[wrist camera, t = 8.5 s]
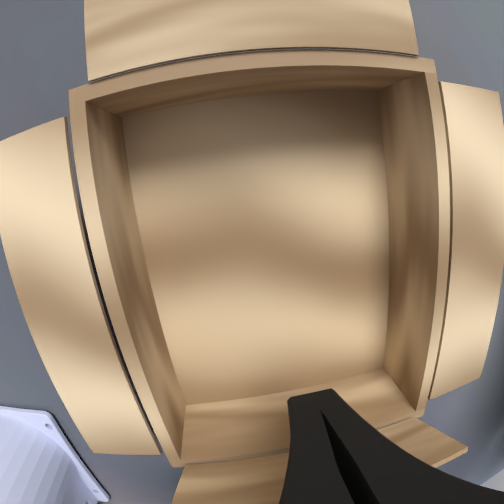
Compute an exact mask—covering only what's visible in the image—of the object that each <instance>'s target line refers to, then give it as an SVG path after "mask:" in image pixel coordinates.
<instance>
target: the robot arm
mask: <svg viewBox="0 0 504 504" xmlns="http://www.w3.org/2000/svg"><path fill="white" fill-rule="evenodd" d="M287 404H288V414H289V424H290V435H291V436H290V449H289V458H288V464H287V470H286V475H285V481H284V485H283V489H282V493H281V497H280V501H279V504H504V492H502V491H498V490H494V489H490V488H486V487H482V486H479V485H476V484H473V483H470V482H468V481H465V480H462V479H460V478H457V477H454V476H452V475H449V474H447V473H445V472H443V471H441V470H439V469H436V468H434V467H432V466H430V465H429V464H427V463H425V462H423V461H421V460H420V459H418V458H416V457H414V456H413V455H411V454H410V453H408V452H406V451H405V450H403V449H402V448H400V447H399V446H398V445H396V444H395V443H393V442H392V441H391V440H389V439H388V438H387V437H385V436H384V435H383V434H381V433H380V432H379V431H378V430H376V429H375V428H374V427H373V426H372V425H370V424H369V423H368V422H367V421H366V420H365V419H363V418H362V417H361V416H360V415H359V414H358V413H357V412H356V411H355V410H354V409H352V408H351V407H350V406H349V405H348V404H347V403H346V402H345V401H344V400H343V399H342V398H341V397H340V396H339V395H338V393H337V392H336V391H335V390H333V389H332V388H329V389H325V390H321V391H316V392H312V393H307V394H302V395H298V396H293V397H290V398H289V399H288V400H287ZM98 501H104V502H107V501H109V496H108V494H107V493H106V492H105V491H104V489H103V488H102V487H101V486H100V484H99V483H98V482H97V481H96V479H95V478H94V477H93V475H92V474H91V473H90V471H89V470H88V469H87V467H86V466H85V465H84V463H83V462H82V461H81V459H80V458H79V456H78V455H77V453H76V452H75V451H74V449H73V448H72V446H71V445H70V443H69V442H68V440H67V439H66V437H65V435H64V434H63V432H62V431H61V429H60V428H59V426H58V424H57V423H56V421H55V419H54V418H53V416H52V415H51V414H50V413H48V412H46V411H40V410H29V409H20V408H12V407H4V406H0V504H97V503H98Z"/></svg>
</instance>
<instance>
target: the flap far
mask: <svg viewBox="0 0 504 504" xmlns="http://www.w3.org/2000/svg"><path fill="white" fill-rule="evenodd" d="M378 431H379V432H380V433H381V434H383V435H384V436H385V437H387V438H388V439H389V440H391V441H392V442H393V443H395V444H396V445H398V446H399V447H400V448H402V449H403V450H405V451H406V452H408V453H410V454H411V455H413V456H414V457H416V458H418V459H420V460H421V461H423V462H425V463H427V464H429V465H430V466H432V467H434V468H436V467H439V466H441V465H443V464H445V463H447V462H449V461H451V460H453V459H455V458H457V457H458V456H460V455H462V454H464V453H466V452H468V447H467V446H465V445H464V444H462V443H460V442H458V441H456V440H454V439H453V438H451V437H449V436H447V435H445V434H444V433H442V432H440V431H438V430H437V429H435V428H433V427H431V426H429V425H428V424H426V423H424V422H422V421H421V420H419V419H417V418H416V417H412V418H409V419H407V420H404V421H401V422H399V423H396V424H393V425H390V426H387V427H384V428H381V429H378ZM288 458H289V452H288V453H283V454H277V455H271V456H265V457H258V458H251V459H244V460H236V461H227V462H216V463H204V464H188V465H185V467H184V469H183V472H182V475H181V478H180V480H179V483H178V486H177V489H176V491H175V494H174V497H173V500H172V502H171V504H279V501H280V497H281V493H282V489H283V485H284V481H285V475H286V470H287V464H288Z"/></svg>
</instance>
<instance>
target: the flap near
mask: <svg viewBox="0 0 504 504" xmlns="http://www.w3.org/2000/svg"><path fill="white" fill-rule="evenodd" d="M84 19H85V43H86V58H87V71H88V81H94V80H98V79H101V78H104V77H108V76H112V75H115V74H119V73H123V72H127V71H130V70H135V69H139V68H143V67H147V66H152V65H157V64H161V63H166V62H171V61H177V60H182V59H188V58H194V57H201V56H208V55H215V54H223V53H232V52H242V51H254V50H269V49H292V48H331V49H355V50H369V51H381V52H390V53H399V54H407V55H414V56H416V55H419V52H418V46H417V40H416V34H415V29H414V23H413V18H412V14H411V9H410V4H409V0H84Z"/></svg>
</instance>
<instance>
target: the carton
mask: <svg viewBox="0 0 504 504" xmlns="http://www.w3.org/2000/svg"><path fill="white" fill-rule="evenodd" d="M69 106H70V119H71V130H72V140H73V149H74V157H75V164H76V171H77V178H78V184H79V191H80V196H81V202H82V207H83V213H84V218H85V223H86V228H87V232H88V237H89V241H90V246H91V250H92V254H93V258H94V262H95V266H96V270H97V274H98V278H99V281H100V285H101V289H102V292H103V296H104V299H105V303H106V306H107V309H108V312H109V316H110V319H111V322H112V325H113V328H114V331H115V334H116V337H117V340H118V343H119V346H120V349H121V352H122V354H123V357H124V360H125V362H126V365H127V368H128V370H129V373H130V376H131V378H132V381H133V383H134V386H135V388H136V391H137V393H138V396H139V398H140V400H141V403H142V405H143V407H144V410H145V412H146V414H147V416H148V419H149V421H150V423H151V425H152V427H153V430H154V432H155V434H156V436H157V438H158V440H159V442H160V444H161V446H162V448H163V450H164V452H165V454H166V456H167V458H168V460H169V462H170V464H171V466H172V467H185V465H188V464H204V463H216V462H227V461H236V460H244V459H251V458H258V457H265V456H271V455H277V454H283V453H288V452H289V449H290V436H291V435H290V424H289V414H288V404H287V400H288V399H289V398H290V397H293V396H298V395H302V394H307V393H312V392H316V391H321V390H325V389H329V388H332V389H333V390H335V391H336V392H337V393H338V395H339V396H340V397H341V398H342V399H343V400H344V401H345V402H346V403H347V404H348V405H349V406H350V407H351V408H352V409H354V410H355V411H356V412H357V413H358V414H359V415H360V416H361V417H362V418H363V419H365V420H366V421H367V422H368V423H369V424H370V425H372V426H373V427H374V428H375V429H376V430H378V429H381V428H384V427H387V426H390V425H393V424H396V423H399V422H401V421H404V420H407V419H409V418H412V417H416V418H418V417H421V416H423V414H424V411H425V407H426V403H427V399H429V400H430V399H433V398H435V397H438V396H440V395H442V394H445V393H447V392H449V391H452V390H454V389H456V388H458V387H461V386H463V385H465V384H467V383H469V382H471V381H473V380H475V379H477V378H479V377H480V376H481V373H482V369H483V366H484V362H485V359H486V355H487V351H488V347H489V343H490V339H491V335H492V330H493V326H494V321H495V316H496V311H497V305H498V299H499V293H500V287H501V280H502V272H503V264H504V127H503V119H502V111H501V105H500V98H499V92H495V91H490V90H486V89H481V88H476V87H471V86H466V85H460V84H454V83H448V82H438V79H437V74H436V69H435V64H434V60H433V59H427V58H420V57H414V56H406V55H398V54H390V53H380V52H368V51H353V50H325V49H300V50H272V51H257V52H244V53H234V54H225V55H217V56H209V57H202V58H196V59H190V60H184V61H178V62H173V63H167V64H162V65H158V66H153V67H148V68H144V69H140V70H135V71H131V72H127V73H123V74H120V75H116V76H112V77H109V78H105V79H102V80H98V81H95V82H92V83H89V84H85V85H82V86H79V87H76V88H73V89H70V90H69ZM0 234H1V239H2V243H3V247H4V251H5V255H6V259H7V263H8V266H9V270H10V273H11V277H12V280H13V283H14V287H15V290H16V293H17V296H18V299H19V302H20V305H21V308H22V311H23V313H24V316H25V319H26V322H27V324H28V327H29V329H30V332H31V334H32V337H33V339H34V342H35V344H36V347H37V349H38V351H39V354H40V356H41V358H42V360H43V363H44V365H45V367H46V369H47V371H48V373H49V375H50V378H51V380H52V382H53V384H54V386H55V388H56V390H57V392H58V393H59V395H60V397H61V399H62V401H63V403H64V405H65V407H66V408H67V410H68V412H69V414H70V416H71V417H72V419H73V421H74V423H75V424H76V426H77V428H78V429H79V431H80V433H81V434H82V436H83V437H84V439H85V441H86V442H87V444H88V445H89V447H90V448H91V450H92V451H93V453H103V454H127V455H161V449H160V447H159V445H158V443H157V441H156V439H155V437H154V435H153V433H152V431H151V429H150V427H149V425H148V423H147V420H146V418H145V416H144V414H143V411H142V409H141V407H140V405H139V402H138V400H137V398H136V395H135V393H134V390H133V388H132V386H131V383H130V381H129V378H128V376H127V373H126V370H125V368H124V365H123V363H122V360H121V357H120V354H119V352H118V349H117V346H116V343H115V340H114V338H113V335H112V332H111V329H110V326H109V323H108V319H107V316H106V313H105V310H104V307H103V303H102V300H101V297H100V293H99V290H98V286H97V282H96V279H95V275H94V271H93V267H92V264H91V260H90V255H89V251H88V247H87V243H86V238H85V234H84V229H83V224H82V220H81V214H80V209H79V204H78V198H77V193H76V187H75V180H74V174H73V167H72V159H71V151H70V143H69V133H68V122H67V117H62V118H59V119H56V120H53V121H50V122H47V123H45V124H42V125H39V126H37V127H34V128H31V129H29V130H26V131H24V132H21V133H19V134H17V135H14V136H12V137H9V138H7V139H5V140H3V141H0Z"/></svg>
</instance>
